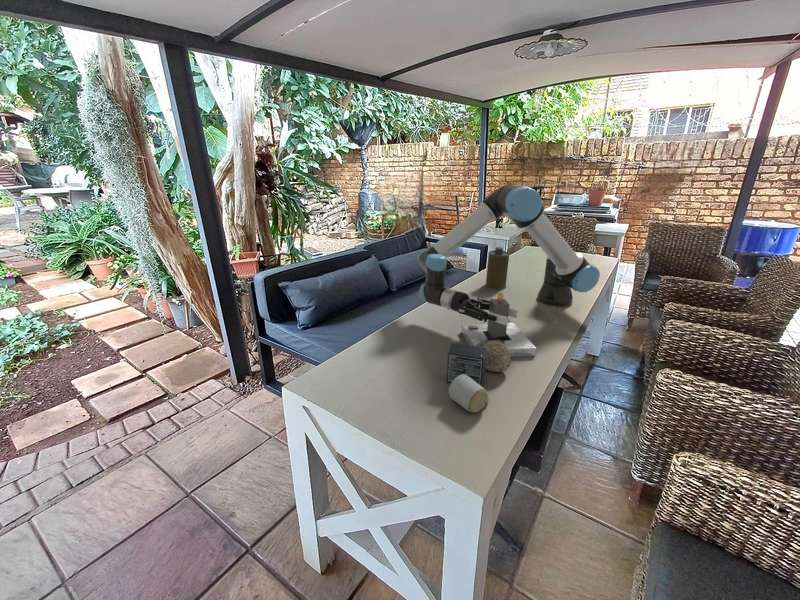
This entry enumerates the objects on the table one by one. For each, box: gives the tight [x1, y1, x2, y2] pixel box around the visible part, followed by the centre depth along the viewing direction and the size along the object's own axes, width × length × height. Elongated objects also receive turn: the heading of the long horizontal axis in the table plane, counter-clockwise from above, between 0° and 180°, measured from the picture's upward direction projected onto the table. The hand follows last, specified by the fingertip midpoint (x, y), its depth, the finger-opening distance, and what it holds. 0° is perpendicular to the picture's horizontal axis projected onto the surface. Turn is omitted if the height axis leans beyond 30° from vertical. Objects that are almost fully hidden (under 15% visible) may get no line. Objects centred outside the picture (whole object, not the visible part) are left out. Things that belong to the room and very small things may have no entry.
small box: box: [445, 343, 487, 388], centre depth 107 cm, size 11×6×10 cm, turn 71°
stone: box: [483, 341, 512, 373], centre depth 113 cm, size 6×10×10 cm, turn 51°
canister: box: [485, 246, 511, 290], centre depth 186 cm, size 11×10×20 cm
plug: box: [487, 292, 510, 337], centre depth 127 cm, size 5×5×15 cm
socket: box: [461, 322, 537, 358], centre depth 131 cm, size 20×20×4 cm
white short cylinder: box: [447, 374, 491, 414], centre depth 98 cm, size 11×8×8 cm
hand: (511, 317), depth 124 cm, fingers closed on plug, 7 cm apart
